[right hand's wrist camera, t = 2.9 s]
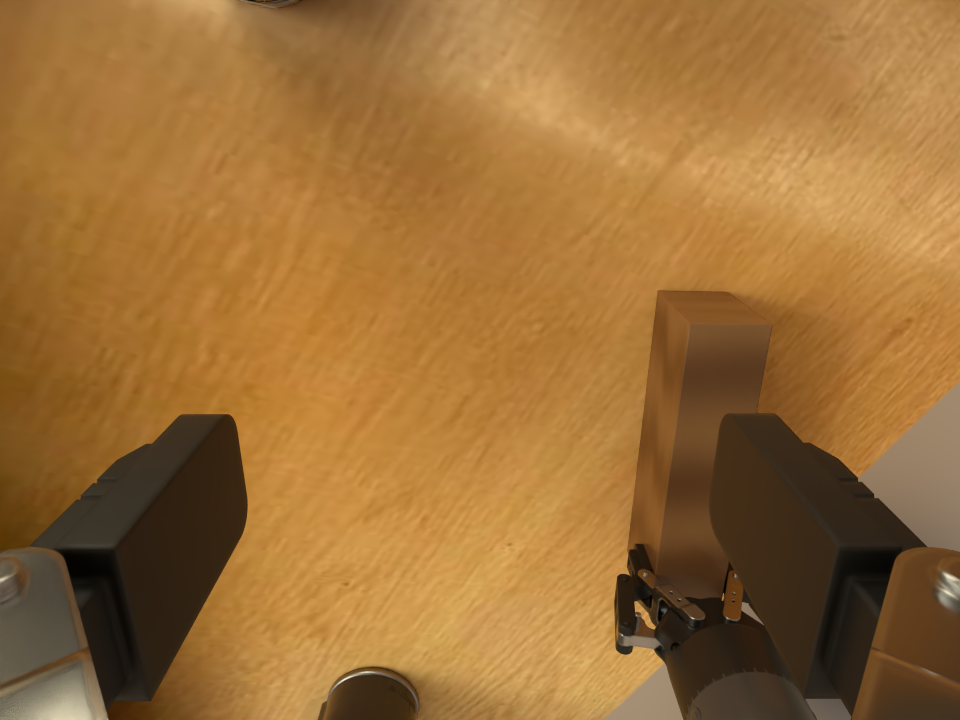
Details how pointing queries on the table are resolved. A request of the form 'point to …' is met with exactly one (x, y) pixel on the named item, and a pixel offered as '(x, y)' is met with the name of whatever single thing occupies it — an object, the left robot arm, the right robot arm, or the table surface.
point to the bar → (692, 430)
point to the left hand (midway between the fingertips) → (674, 552)
